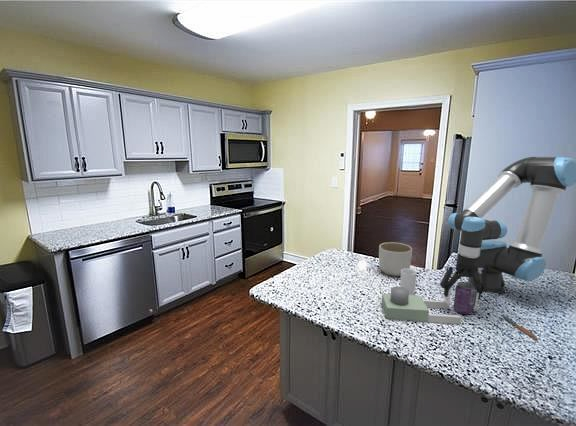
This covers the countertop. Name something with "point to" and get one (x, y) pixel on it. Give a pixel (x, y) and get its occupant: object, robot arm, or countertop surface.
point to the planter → (394, 257)
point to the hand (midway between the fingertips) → (460, 304)
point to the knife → (521, 328)
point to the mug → (408, 280)
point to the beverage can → (464, 298)
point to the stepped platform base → (414, 307)
